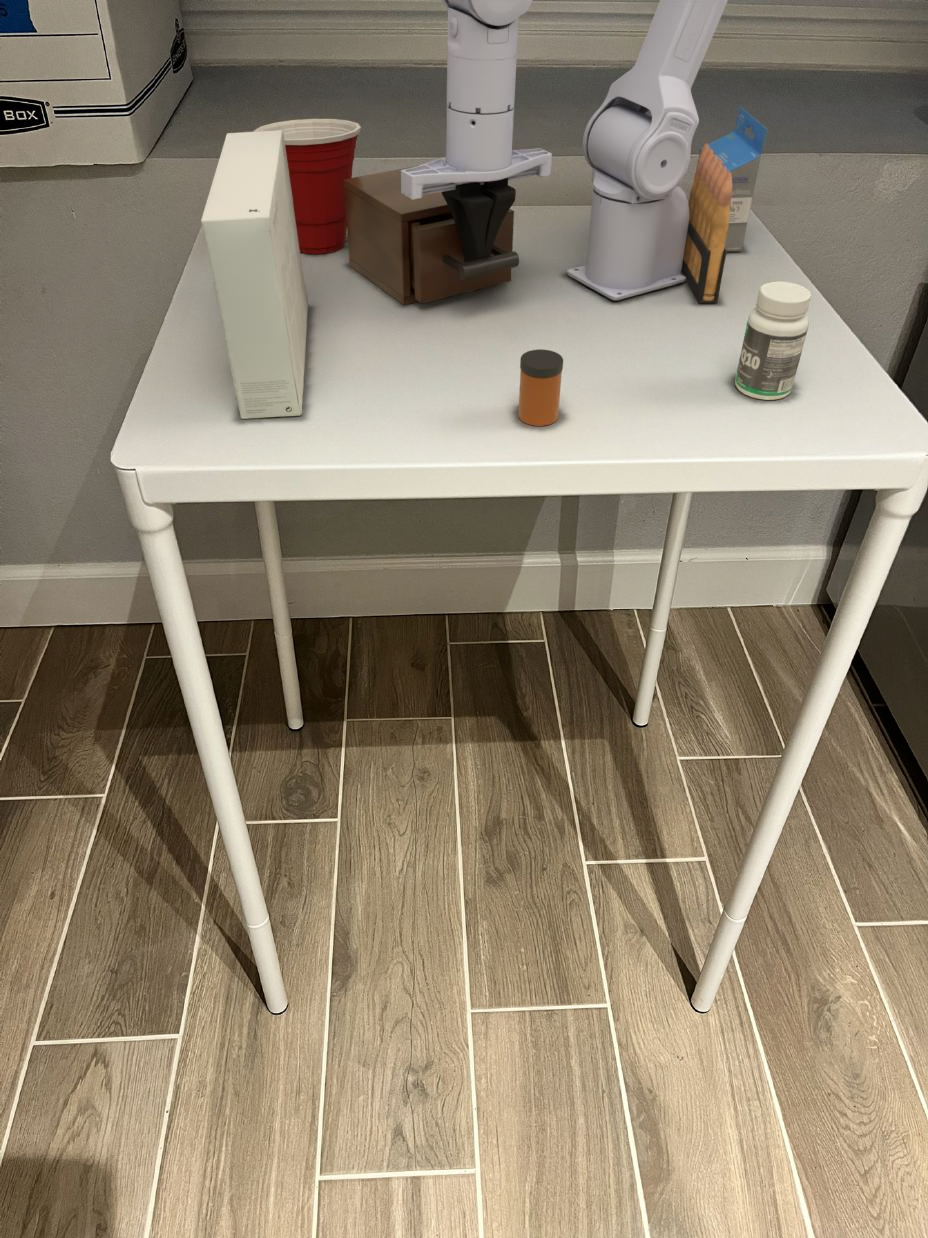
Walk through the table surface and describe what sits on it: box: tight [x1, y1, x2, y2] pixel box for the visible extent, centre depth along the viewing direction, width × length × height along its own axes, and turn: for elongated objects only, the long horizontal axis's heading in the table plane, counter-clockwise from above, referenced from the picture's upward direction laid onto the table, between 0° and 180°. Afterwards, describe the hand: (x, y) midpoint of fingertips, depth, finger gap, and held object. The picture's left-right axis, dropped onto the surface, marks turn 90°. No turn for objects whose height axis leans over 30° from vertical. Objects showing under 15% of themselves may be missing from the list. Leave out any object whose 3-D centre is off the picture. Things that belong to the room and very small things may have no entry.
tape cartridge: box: [697, 106, 769, 254], centre depth 103 cm, size 9×4×12 cm, turn 6°
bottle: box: [517, 348, 564, 427], centre depth 76 cm, size 3×3×5 cm
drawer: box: [408, 208, 520, 304], centre depth 93 cm, size 15×10×7 cm
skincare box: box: [200, 130, 309, 420], centre depth 79 cm, size 21×5×16 cm, turn 5°
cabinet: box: [344, 165, 451, 306], centre depth 96 cm, size 12×12×9 cm
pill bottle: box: [734, 281, 812, 401], centre depth 79 cm, size 5×5×8 cm
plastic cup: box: [253, 118, 362, 255], centre depth 101 cm, size 11×11×12 cm
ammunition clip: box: [681, 142, 732, 304], centre depth 94 cm, size 11×2×12 cm, turn 3°
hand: (475, 265), depth 90 cm, fingers closed, pressing on drawer
